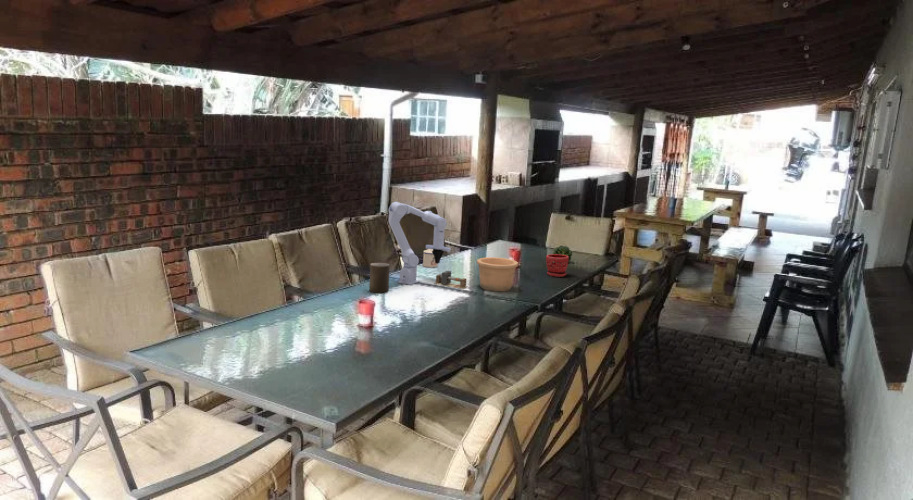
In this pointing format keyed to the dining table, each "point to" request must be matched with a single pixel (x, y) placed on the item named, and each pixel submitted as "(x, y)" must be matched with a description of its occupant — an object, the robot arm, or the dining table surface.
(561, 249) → the vegetable
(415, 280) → the robot arm
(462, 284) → the rail
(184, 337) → the dining table surface
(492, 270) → the pottery
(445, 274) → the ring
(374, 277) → the pillar candle
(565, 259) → the plant pot
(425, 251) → the teacup with lid
